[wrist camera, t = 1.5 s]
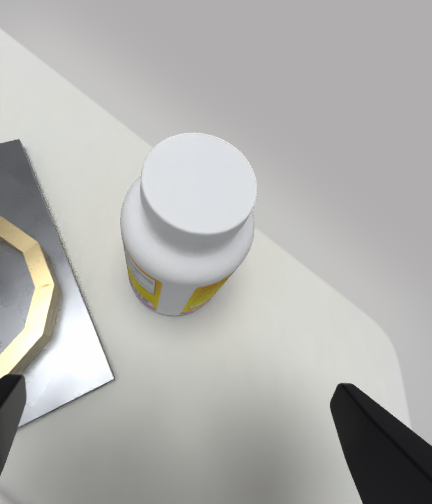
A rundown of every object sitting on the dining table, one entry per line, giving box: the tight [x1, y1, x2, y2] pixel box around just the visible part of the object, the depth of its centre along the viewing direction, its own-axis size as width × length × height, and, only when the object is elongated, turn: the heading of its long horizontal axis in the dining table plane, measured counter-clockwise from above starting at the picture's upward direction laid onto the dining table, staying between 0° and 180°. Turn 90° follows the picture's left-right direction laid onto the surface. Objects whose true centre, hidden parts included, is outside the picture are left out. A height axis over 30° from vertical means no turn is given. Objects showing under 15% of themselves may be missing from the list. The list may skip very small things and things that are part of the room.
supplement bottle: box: [120, 133, 257, 316], centre depth 18 cm, size 7×7×13 cm
